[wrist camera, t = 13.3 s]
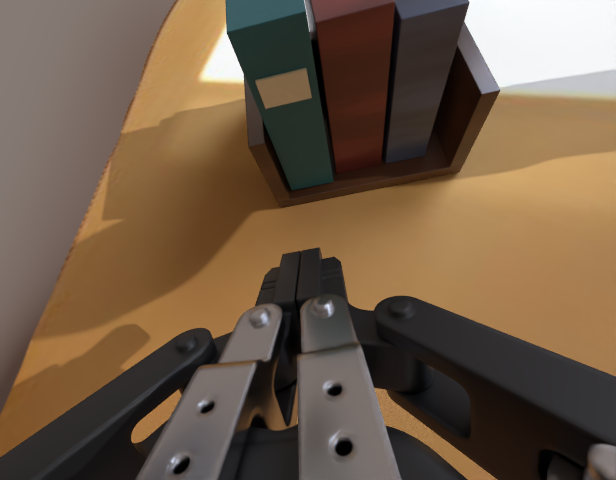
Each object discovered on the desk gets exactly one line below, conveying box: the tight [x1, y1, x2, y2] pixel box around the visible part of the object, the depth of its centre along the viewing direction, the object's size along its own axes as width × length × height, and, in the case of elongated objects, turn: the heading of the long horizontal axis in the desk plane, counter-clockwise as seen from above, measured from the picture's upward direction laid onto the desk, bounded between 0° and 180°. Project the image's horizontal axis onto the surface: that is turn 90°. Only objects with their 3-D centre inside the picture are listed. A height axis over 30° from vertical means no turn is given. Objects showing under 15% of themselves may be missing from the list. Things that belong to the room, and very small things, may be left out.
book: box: [226, 0, 333, 190], centre depth 24 cm, size 12×4×15 cm, turn 8°
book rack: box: [244, 0, 500, 208], centre depth 25 cm, size 15×17×15 cm
